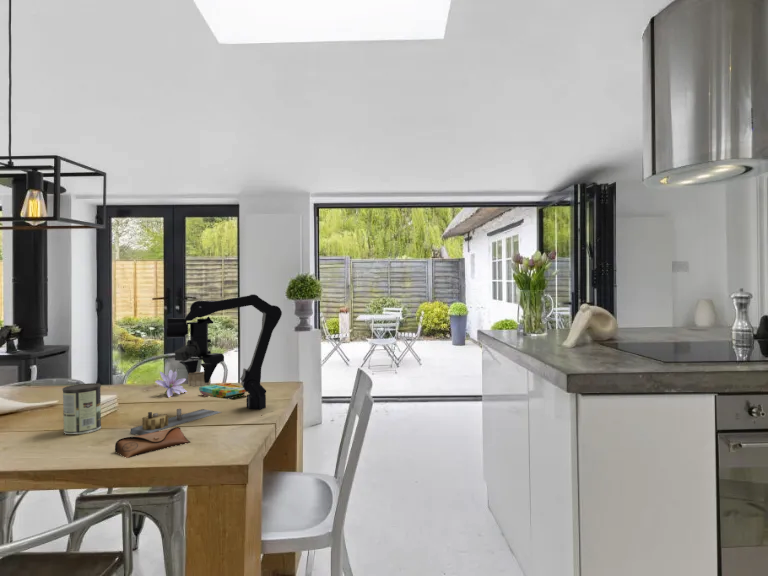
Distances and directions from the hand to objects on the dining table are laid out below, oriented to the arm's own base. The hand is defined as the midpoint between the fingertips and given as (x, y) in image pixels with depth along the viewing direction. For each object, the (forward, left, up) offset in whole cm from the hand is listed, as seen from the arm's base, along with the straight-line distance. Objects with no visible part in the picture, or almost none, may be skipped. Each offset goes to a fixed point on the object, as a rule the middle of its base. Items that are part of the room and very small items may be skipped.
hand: (199, 381), depth 161 cm
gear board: (0, +8, -13) cm, 15 cm away
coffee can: (+22, +27, -13) cm, 37 cm away
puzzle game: (+20, -29, -13) cm, 38 cm away
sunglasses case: (-14, +26, -13) cm, 33 cm away
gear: (0, 0, -1) cm, 1 cm away
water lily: (+42, -20, -13) cm, 49 cm away
